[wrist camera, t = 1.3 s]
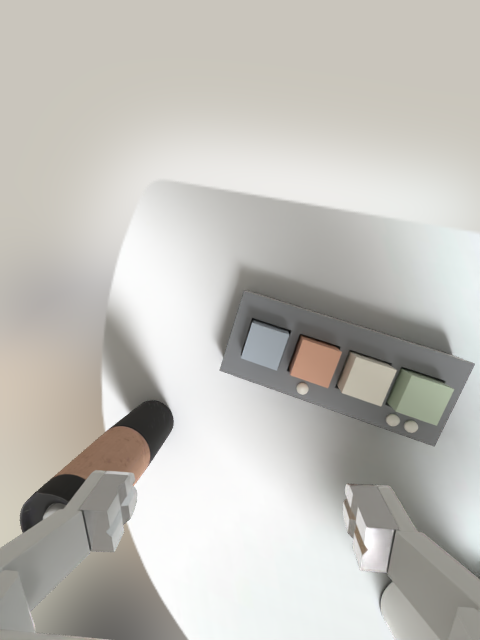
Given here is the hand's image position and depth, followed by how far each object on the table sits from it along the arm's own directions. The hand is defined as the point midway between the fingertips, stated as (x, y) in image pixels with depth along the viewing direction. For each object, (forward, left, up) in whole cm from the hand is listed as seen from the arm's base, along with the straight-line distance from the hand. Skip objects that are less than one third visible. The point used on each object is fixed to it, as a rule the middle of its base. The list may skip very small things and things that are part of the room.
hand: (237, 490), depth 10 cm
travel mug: (+14, +20, -30) cm, 39 cm away
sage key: (-20, 0, -27) cm, 34 cm away
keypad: (-10, 0, -30) cm, 31 cm away
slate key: (0, 0, -27) cm, 27 cm away
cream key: (-13, 0, -27) cm, 31 cm away
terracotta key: (-7, 0, -27) cm, 28 cm away
